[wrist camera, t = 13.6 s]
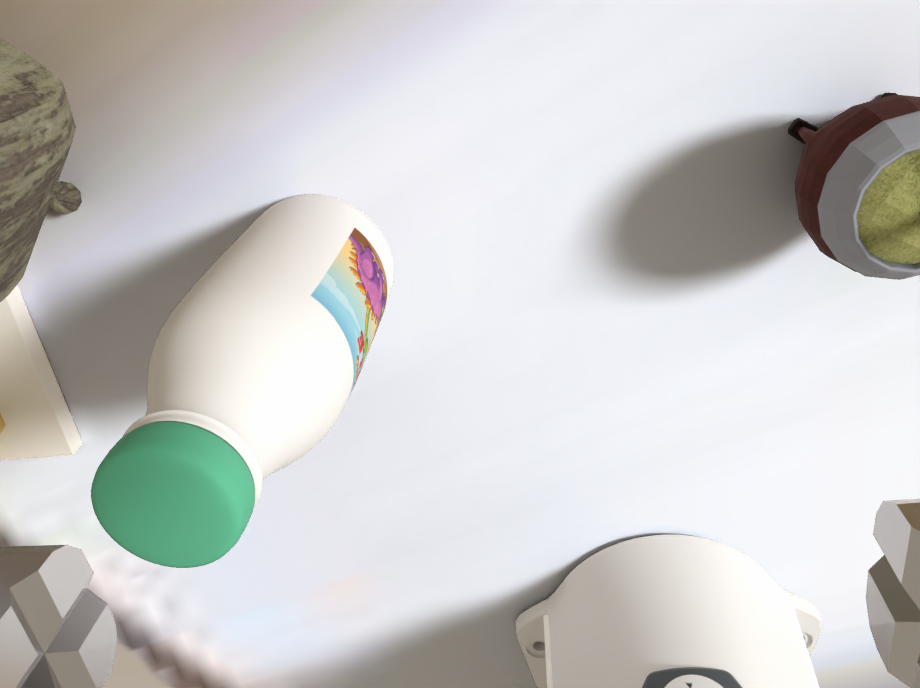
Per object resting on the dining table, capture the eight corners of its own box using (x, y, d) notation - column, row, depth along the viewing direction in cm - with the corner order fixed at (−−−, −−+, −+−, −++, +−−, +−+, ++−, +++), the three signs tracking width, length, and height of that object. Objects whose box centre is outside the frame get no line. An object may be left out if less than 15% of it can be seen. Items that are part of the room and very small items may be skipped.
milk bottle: (233, 297, 42) (17, 561, 24) (270, 165, 38) (51, 361, 21) (368, 350, 43) (255, 642, 25) (417, 225, 39) (327, 462, 22)
